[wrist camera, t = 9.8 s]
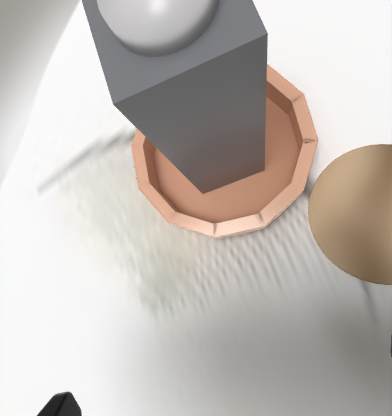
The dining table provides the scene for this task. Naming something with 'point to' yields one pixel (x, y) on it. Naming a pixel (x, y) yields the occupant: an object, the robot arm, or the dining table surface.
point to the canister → (189, 80)
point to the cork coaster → (356, 213)
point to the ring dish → (245, 188)
